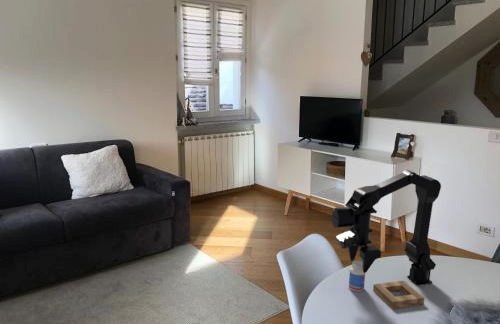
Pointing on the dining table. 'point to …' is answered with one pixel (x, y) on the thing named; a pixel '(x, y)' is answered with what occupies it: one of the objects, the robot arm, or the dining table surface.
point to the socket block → (400, 301)
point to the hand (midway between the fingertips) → (358, 266)
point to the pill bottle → (356, 276)
